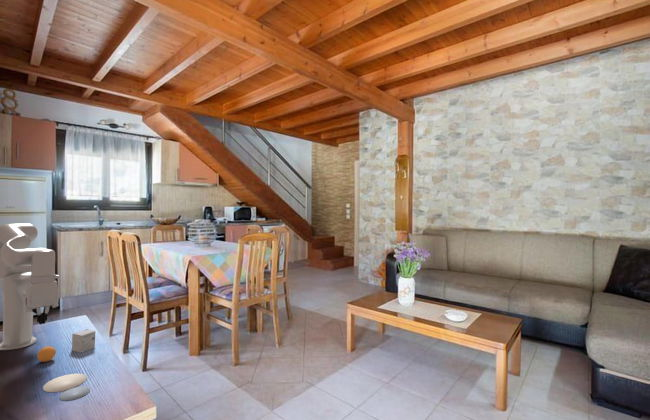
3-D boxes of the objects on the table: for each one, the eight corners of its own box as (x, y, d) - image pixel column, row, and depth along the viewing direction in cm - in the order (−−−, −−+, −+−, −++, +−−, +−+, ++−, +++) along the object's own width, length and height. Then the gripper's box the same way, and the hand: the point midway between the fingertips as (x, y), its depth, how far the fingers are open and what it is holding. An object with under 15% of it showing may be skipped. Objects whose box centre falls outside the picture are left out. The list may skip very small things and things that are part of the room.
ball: (35, 361, 128) (35, 347, 128) (53, 356, 132) (53, 343, 132) (39, 365, 124) (39, 351, 124) (57, 360, 129) (57, 346, 129)
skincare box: (80, 353, 136) (81, 335, 136) (71, 350, 138) (71, 333, 138) (95, 347, 142) (95, 330, 142) (86, 345, 144) (86, 328, 144)
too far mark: (56, 394, 106) (56, 393, 106) (85, 384, 112) (85, 383, 112) (63, 403, 101) (63, 403, 101) (93, 392, 107) (93, 392, 107)
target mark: (38, 383, 112) (38, 383, 112) (80, 370, 121) (80, 370, 121) (48, 396, 105) (48, 395, 105) (91, 381, 114) (91, 381, 114)
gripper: (62, 275, 142) (61, 317, 142) (16, 280, 130) (15, 326, 130) (68, 277, 138) (66, 320, 137) (20, 283, 126) (19, 330, 126)
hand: (41, 323), depth 134 cm, fingers closed
